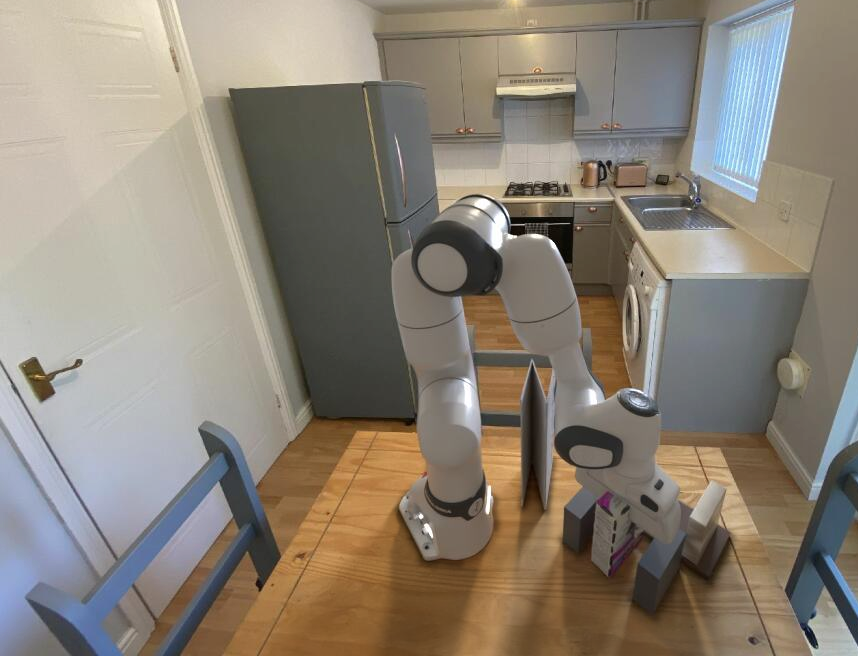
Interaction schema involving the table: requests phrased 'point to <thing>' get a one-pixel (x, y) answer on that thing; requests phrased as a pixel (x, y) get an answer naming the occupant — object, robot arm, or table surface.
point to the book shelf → (711, 547)
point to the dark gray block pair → (651, 568)
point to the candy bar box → (612, 534)
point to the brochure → (536, 432)
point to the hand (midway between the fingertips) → (619, 522)
